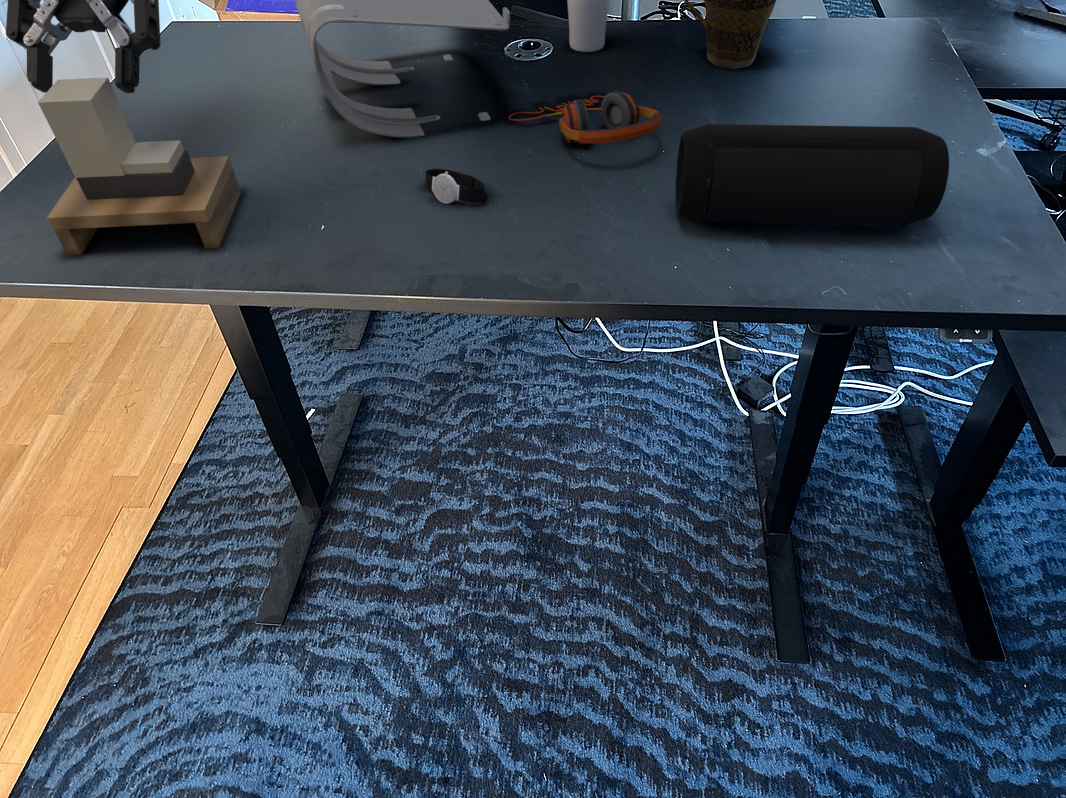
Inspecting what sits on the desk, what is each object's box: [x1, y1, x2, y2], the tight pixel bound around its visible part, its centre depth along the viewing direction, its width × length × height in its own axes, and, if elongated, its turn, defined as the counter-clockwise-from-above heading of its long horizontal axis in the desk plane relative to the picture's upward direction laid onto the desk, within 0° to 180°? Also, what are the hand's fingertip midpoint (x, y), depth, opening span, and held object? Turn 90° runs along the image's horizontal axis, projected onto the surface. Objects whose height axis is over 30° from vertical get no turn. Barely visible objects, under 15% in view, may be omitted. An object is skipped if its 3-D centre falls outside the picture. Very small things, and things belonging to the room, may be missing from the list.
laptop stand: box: [294, 0, 511, 139], centre depth 101 cm, size 26×24×16 cm
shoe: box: [37, 77, 195, 199], centre depth 78 cm, size 10×5×10 cm, turn 93°
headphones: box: [508, 90, 663, 147], centre depth 96 cm, size 17×5×20 cm
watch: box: [425, 168, 486, 204], centre depth 87 cm, size 8×5×4 cm, turn 56°
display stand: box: [46, 155, 242, 256], centre depth 84 cm, size 16×11×5 cm
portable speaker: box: [674, 123, 950, 228], centre depth 80 cm, size 26×10×10 cm, turn 85°
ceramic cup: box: [684, 0, 777, 70], centre depth 109 cm, size 13×10×10 cm
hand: (83, 90), depth 76 cm, fingers open, 8 cm apart
